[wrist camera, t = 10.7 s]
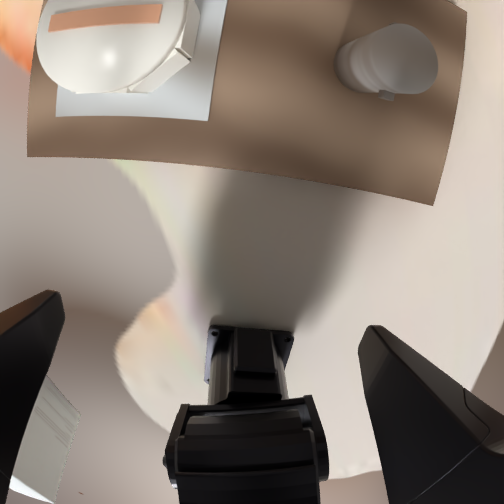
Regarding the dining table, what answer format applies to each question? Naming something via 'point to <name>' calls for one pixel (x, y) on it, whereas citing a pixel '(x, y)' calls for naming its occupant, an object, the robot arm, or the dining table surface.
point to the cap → (116, 43)
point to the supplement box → (45, 445)
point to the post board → (284, 96)
